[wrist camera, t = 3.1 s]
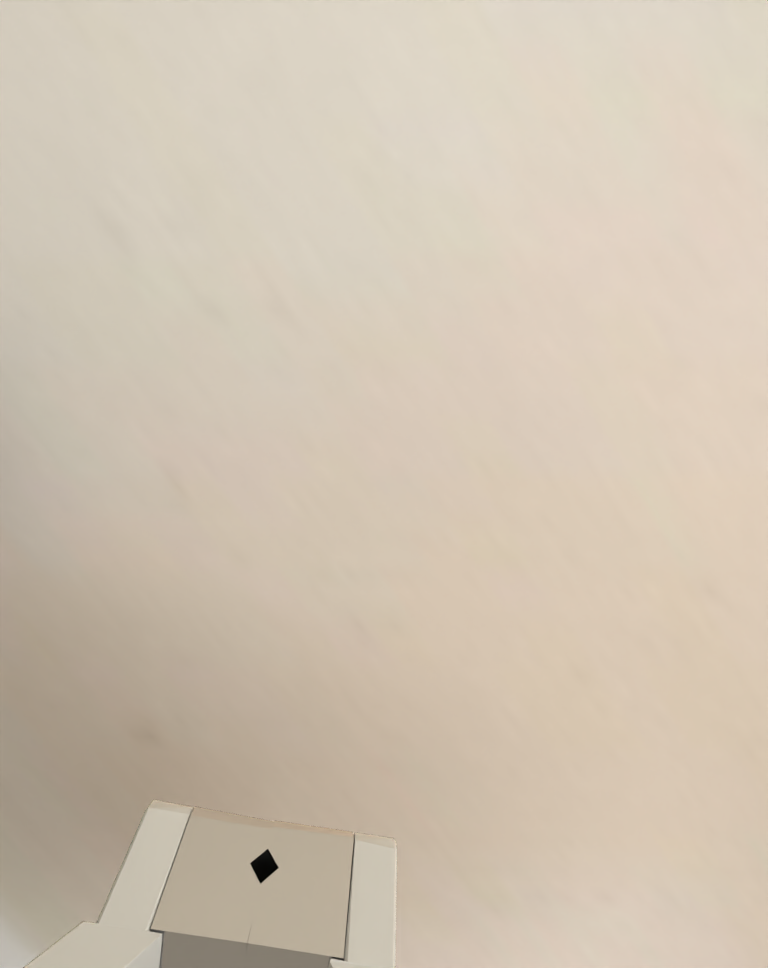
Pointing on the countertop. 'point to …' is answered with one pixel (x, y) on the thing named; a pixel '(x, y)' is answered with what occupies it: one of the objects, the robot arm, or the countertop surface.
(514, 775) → the countertop surface
